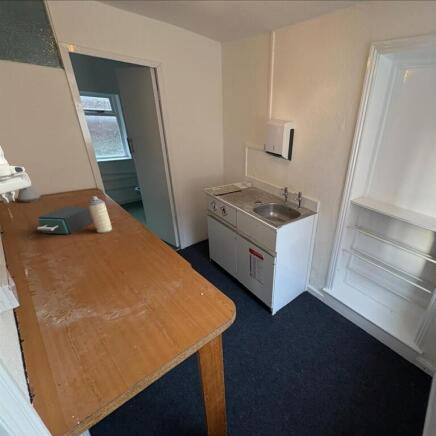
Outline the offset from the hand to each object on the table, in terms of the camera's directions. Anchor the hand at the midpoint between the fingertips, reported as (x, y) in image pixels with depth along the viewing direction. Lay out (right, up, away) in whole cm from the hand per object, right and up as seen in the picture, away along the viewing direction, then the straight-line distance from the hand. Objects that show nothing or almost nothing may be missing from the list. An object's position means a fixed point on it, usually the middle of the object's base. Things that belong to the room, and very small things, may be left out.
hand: (9, 202), depth 103 cm
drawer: (-1, -13, +25) cm, 29 cm away
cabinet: (-1, -13, +29) cm, 32 cm away
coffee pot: (-60, +4, +62) cm, 86 cm away
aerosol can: (+20, -14, +28) cm, 37 cm away
